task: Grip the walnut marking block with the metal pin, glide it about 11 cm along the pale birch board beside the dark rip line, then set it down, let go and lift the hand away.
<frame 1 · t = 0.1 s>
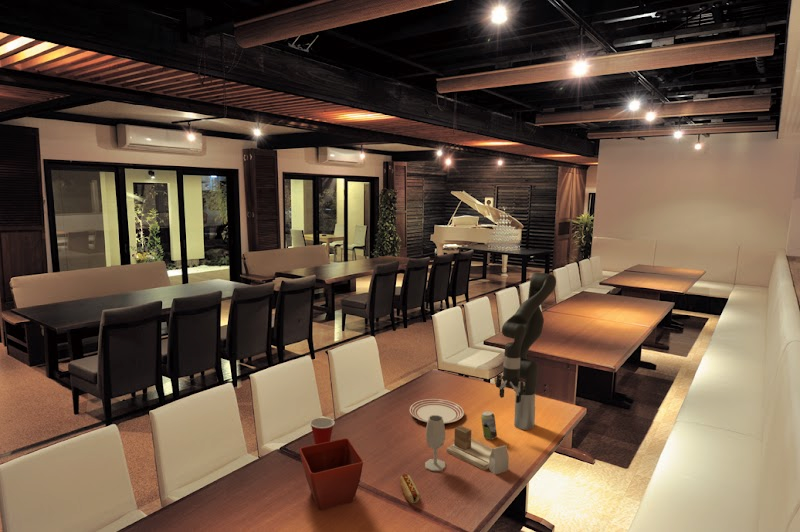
hand: (509, 399, 226), 17 cm above the table, tool pointing down, fingers open, 8 cm apart
tea bag: (498, 470, 199), on the table
dinner plate: (436, 416, 249), on the table
board: (475, 454, 211), on the table
plastic cup: (322, 447, 217), on the table
plant pot: (331, 497, 181), on the table
wineglass: (435, 466, 202), on the table
beverage can: (488, 437, 226), on the table
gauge: (462, 446, 214), point 2 cm above the table, touching board
food: (409, 495, 183), on the table
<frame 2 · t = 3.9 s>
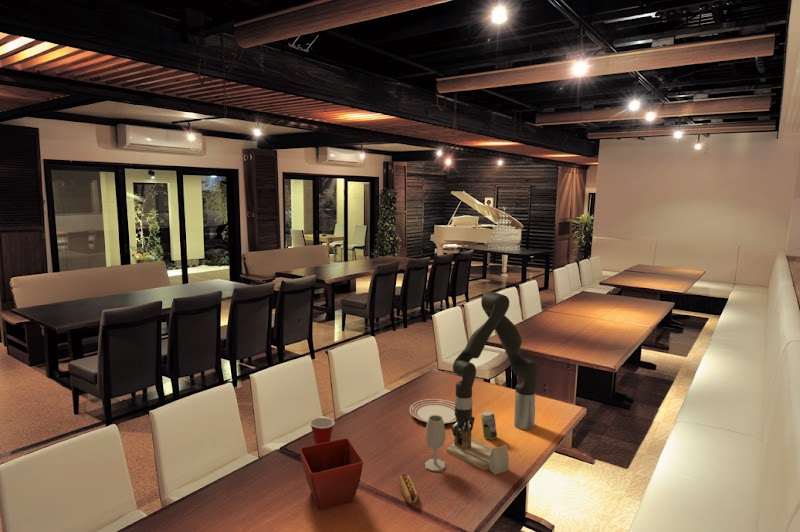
hand: (462, 442, 214), 4 cm above the table, tool pointing down, fingers closed on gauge, 4 cm apart
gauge: (462, 446, 214), point 2 cm above the table, touching board, gripper
everything else where it was.
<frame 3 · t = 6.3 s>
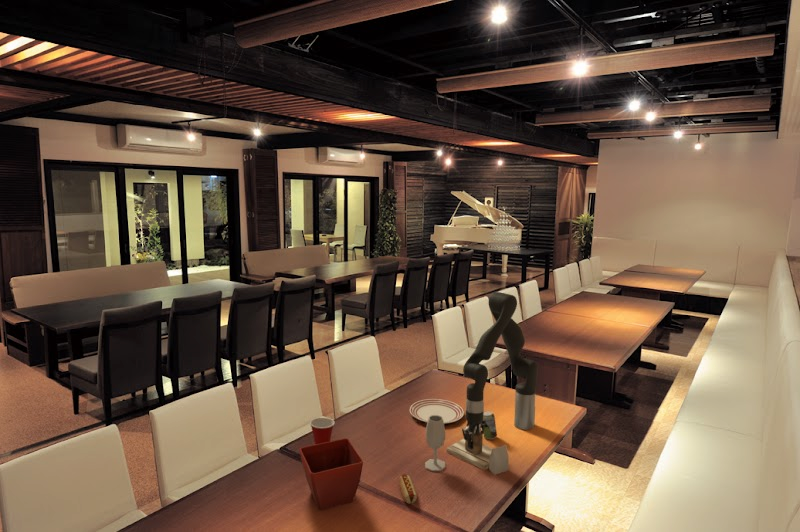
hand: (473, 446, 209), 4 cm above the table, tool pointing down, fingers closed on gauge, 4 cm apart
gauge: (473, 450, 210), point 2 cm above the table, touching gripper
everything else where it was.
when the fingers open (4 cm above the table, at t = 9.1 s): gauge stays where it is, resting on board.
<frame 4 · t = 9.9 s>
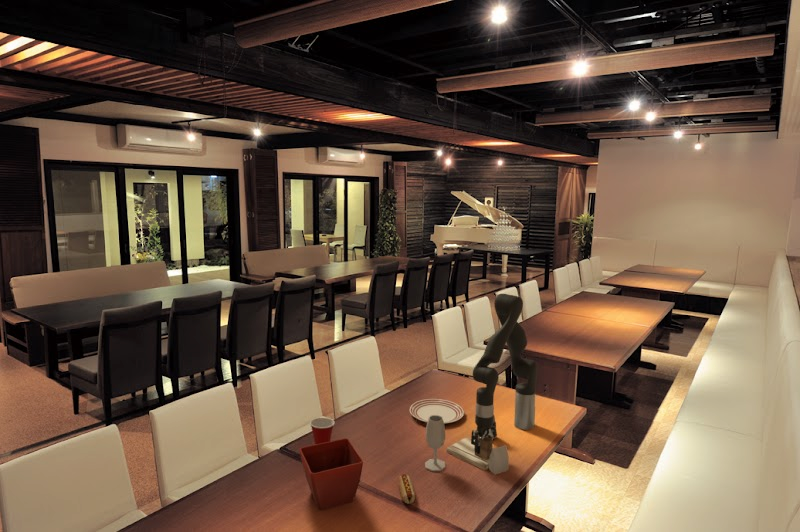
hand: (483, 449, 206), 5 cm above the table, tool pointing down, fingers open, 8 cm apart
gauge: (483, 455, 206), point 2 cm above the table, touching board
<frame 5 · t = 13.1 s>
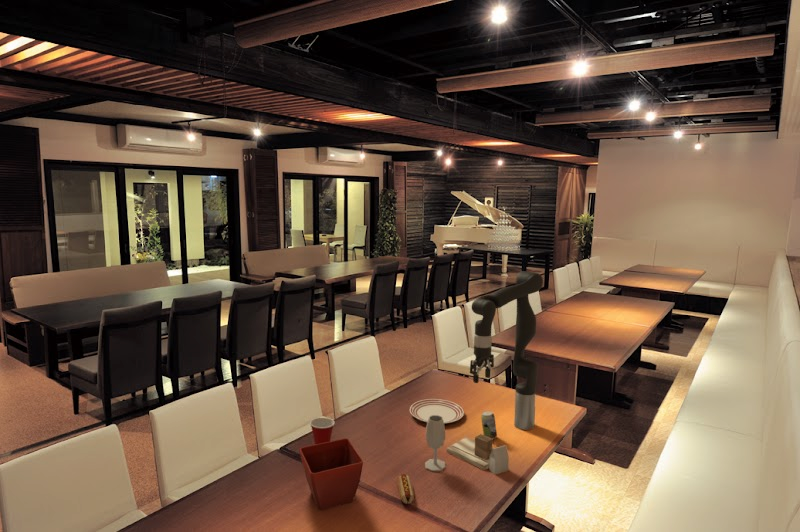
hand: (481, 380, 215), 30 cm above the table, tool pointing down, fingers open, 8 cm apart
at the end: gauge 0.1 cm from the target spot, point 2.0 cm above the table; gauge tilted 0°; the gripper is holding nothing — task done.
